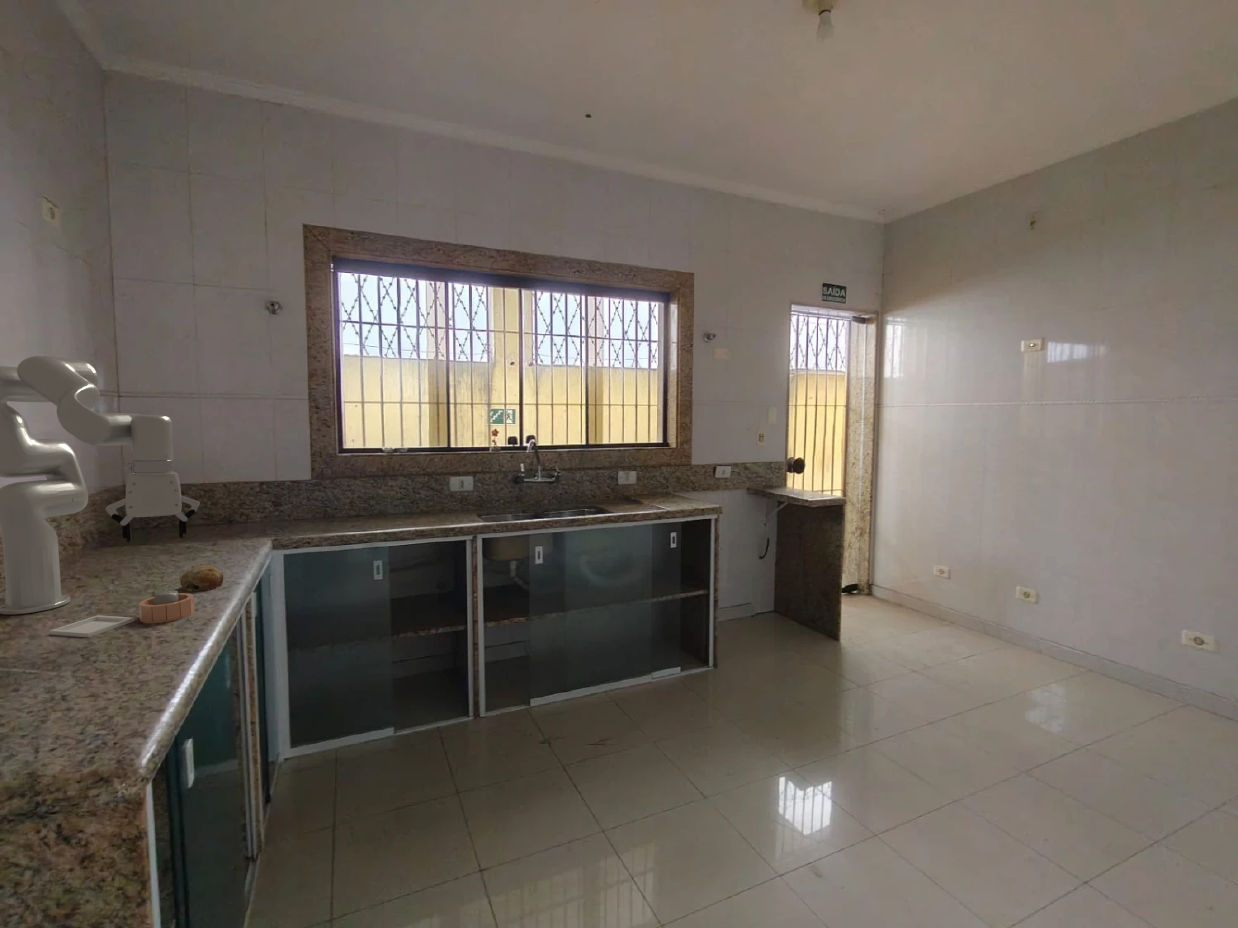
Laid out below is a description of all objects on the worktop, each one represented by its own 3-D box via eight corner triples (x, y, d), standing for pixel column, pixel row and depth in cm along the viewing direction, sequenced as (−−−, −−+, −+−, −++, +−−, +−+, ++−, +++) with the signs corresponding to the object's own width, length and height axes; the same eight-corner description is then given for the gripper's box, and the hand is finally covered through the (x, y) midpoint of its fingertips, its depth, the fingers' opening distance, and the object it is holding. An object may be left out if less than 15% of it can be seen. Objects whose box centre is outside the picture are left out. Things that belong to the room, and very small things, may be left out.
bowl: (128, 623, 132) (127, 605, 131) (168, 609, 141) (167, 592, 141) (166, 625, 130) (165, 607, 130) (204, 611, 140) (203, 594, 140)
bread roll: (177, 603, 157) (170, 581, 153) (192, 579, 165) (185, 557, 161) (219, 601, 159) (212, 579, 155) (231, 577, 168) (225, 555, 164)
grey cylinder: (150, 616, 134) (148, 595, 133) (167, 610, 138) (166, 590, 138) (166, 617, 133) (165, 596, 133) (184, 611, 138) (182, 591, 137)
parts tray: (49, 635, 123) (49, 630, 123) (97, 620, 133) (97, 615, 133) (88, 638, 122) (88, 633, 122) (134, 622, 132) (134, 617, 132)
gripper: (101, 470, 125) (105, 546, 127) (199, 468, 136) (201, 538, 137) (106, 467, 131) (109, 539, 133) (198, 465, 142) (200, 532, 143)
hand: (155, 539), depth 135 cm, fingers open, 9 cm apart
